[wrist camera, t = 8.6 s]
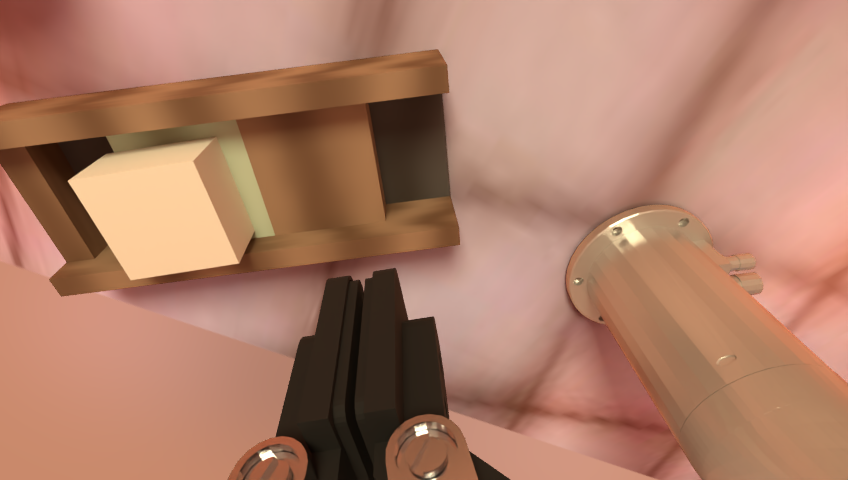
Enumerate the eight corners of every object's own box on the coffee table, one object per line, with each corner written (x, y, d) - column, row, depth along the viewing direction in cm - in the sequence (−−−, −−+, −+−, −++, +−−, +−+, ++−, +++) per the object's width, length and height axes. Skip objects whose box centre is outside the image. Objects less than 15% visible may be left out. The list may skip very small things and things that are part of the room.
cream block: (216, 136, 28) (192, 161, 24) (254, 230, 31) (239, 263, 28) (106, 153, 28) (67, 181, 24) (157, 245, 31) (130, 280, 28)
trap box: (437, 49, 29) (447, 65, 24) (451, 210, 35) (460, 244, 31) (6, 103, 28) (-60, 129, 24) (100, 255, 35) (61, 296, 31)
